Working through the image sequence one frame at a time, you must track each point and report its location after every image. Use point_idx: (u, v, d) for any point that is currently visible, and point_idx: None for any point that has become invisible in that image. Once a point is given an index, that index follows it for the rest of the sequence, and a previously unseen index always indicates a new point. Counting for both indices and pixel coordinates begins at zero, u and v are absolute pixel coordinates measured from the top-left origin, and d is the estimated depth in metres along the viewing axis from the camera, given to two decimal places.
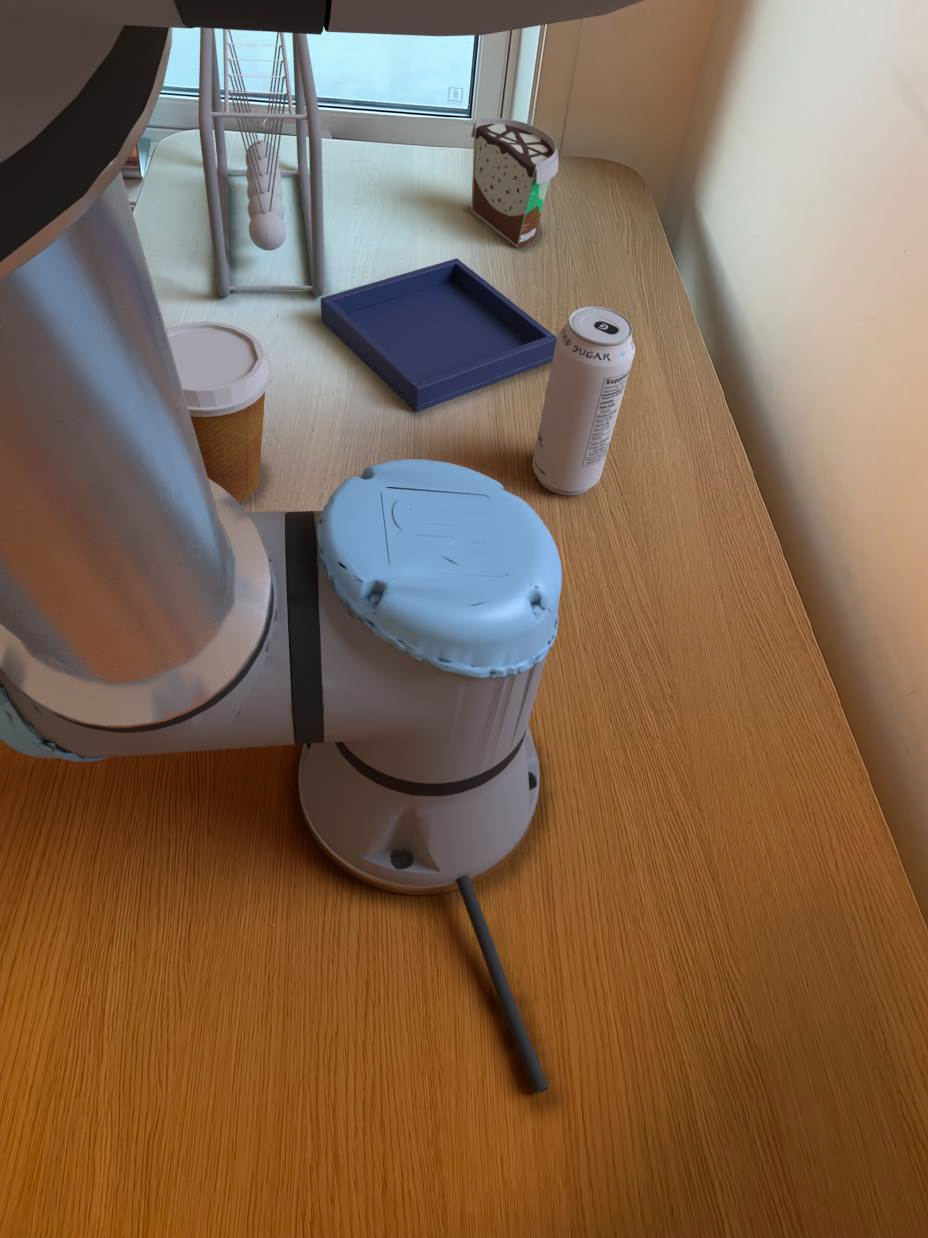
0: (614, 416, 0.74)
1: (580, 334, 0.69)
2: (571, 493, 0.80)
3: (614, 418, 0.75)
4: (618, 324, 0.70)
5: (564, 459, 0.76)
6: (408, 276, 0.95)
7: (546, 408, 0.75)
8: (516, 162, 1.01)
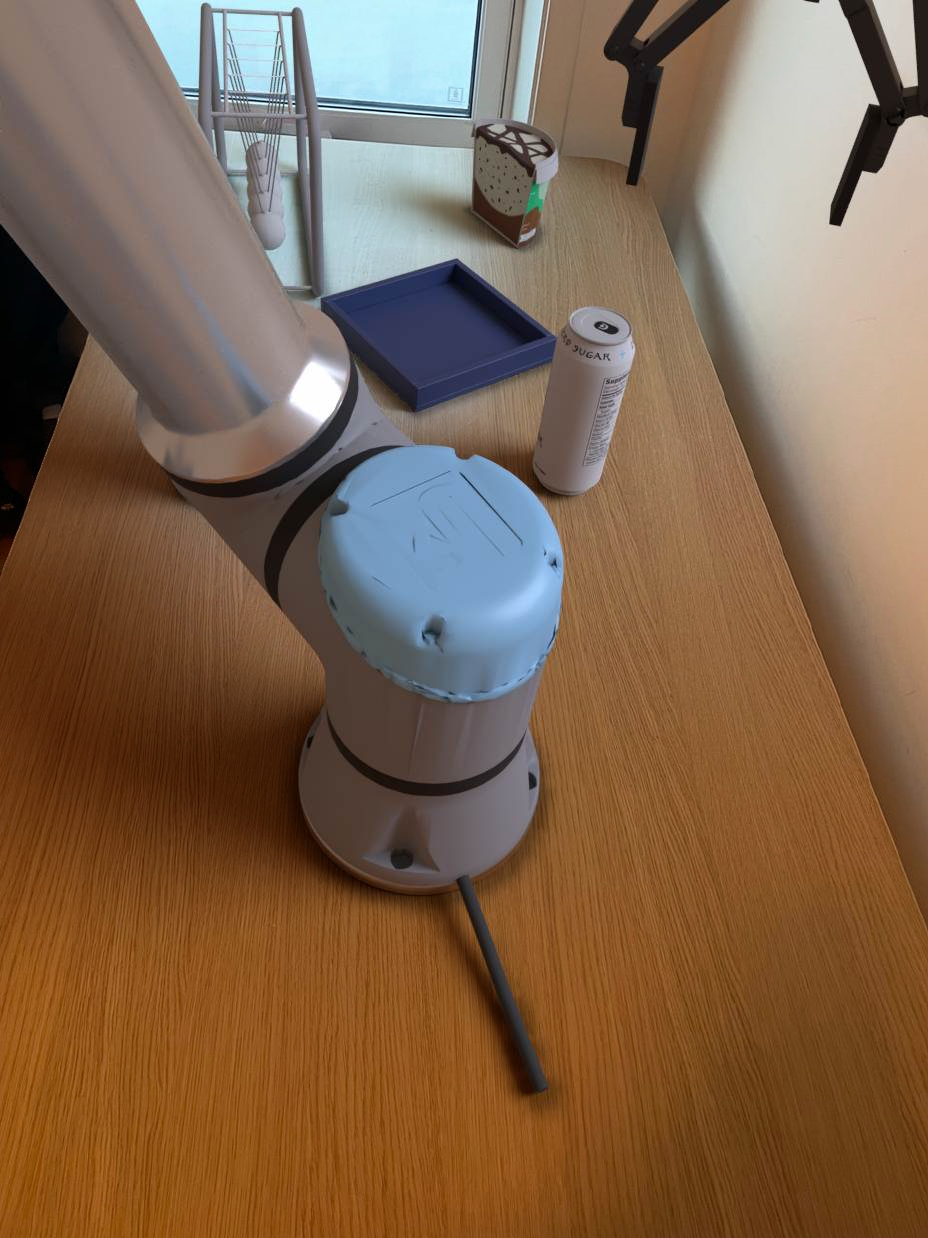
0: (614, 416, 0.74)
1: (580, 334, 0.69)
2: (571, 493, 0.80)
3: (614, 418, 0.75)
4: (618, 324, 0.70)
5: (564, 459, 0.76)
6: (408, 276, 0.95)
7: (546, 408, 0.75)
8: (516, 162, 1.01)
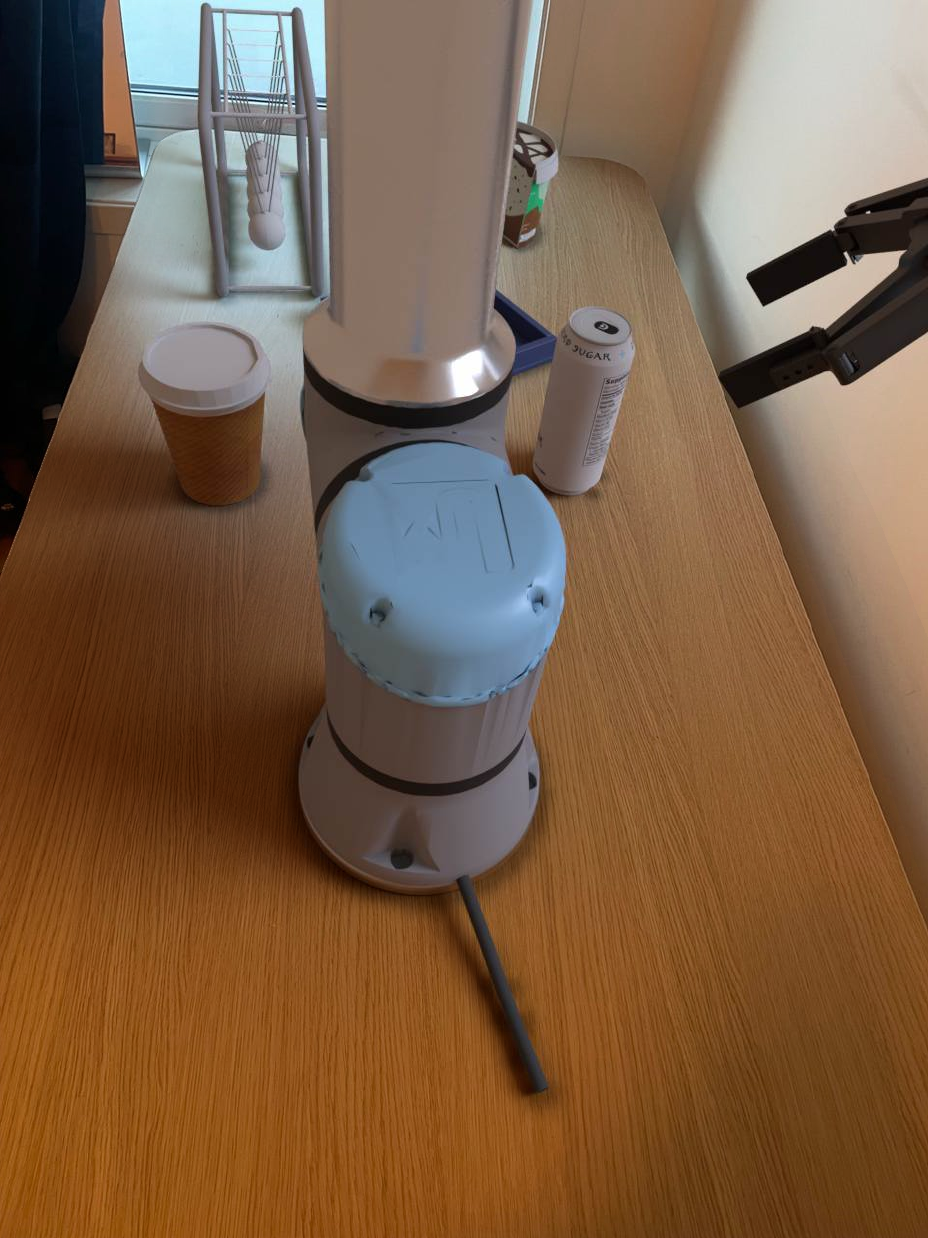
0: (614, 416, 0.74)
1: (580, 334, 0.69)
2: (571, 493, 0.80)
3: (614, 418, 0.75)
4: (618, 324, 0.70)
5: (564, 459, 0.76)
6: None
7: (546, 408, 0.75)
8: (516, 162, 1.01)
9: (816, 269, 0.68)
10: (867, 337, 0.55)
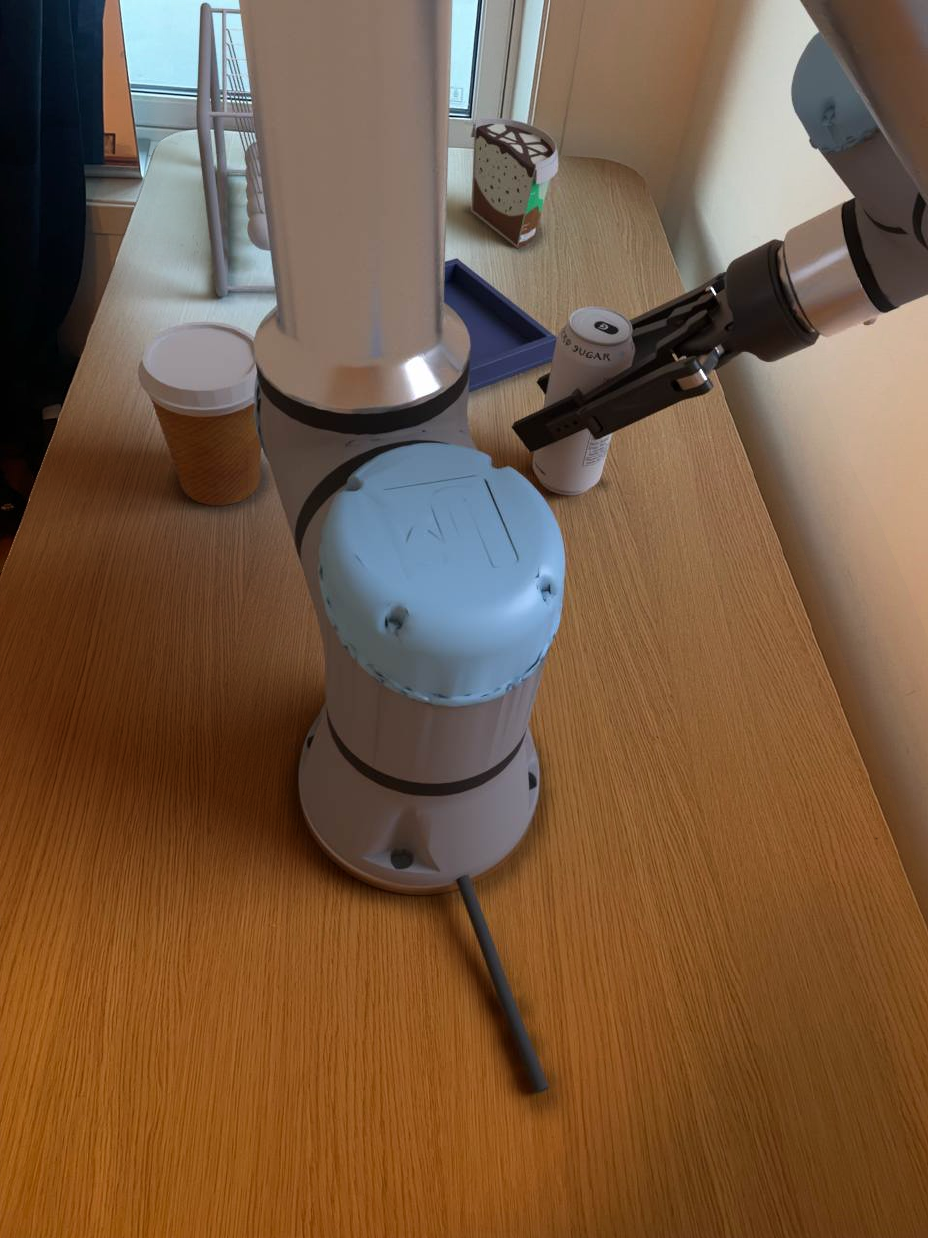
0: None
1: (580, 334, 0.69)
2: (571, 493, 0.80)
3: None
4: (618, 324, 0.70)
5: (564, 459, 0.76)
6: None
7: None
8: (516, 162, 1.01)
9: None
10: (606, 408, 0.67)
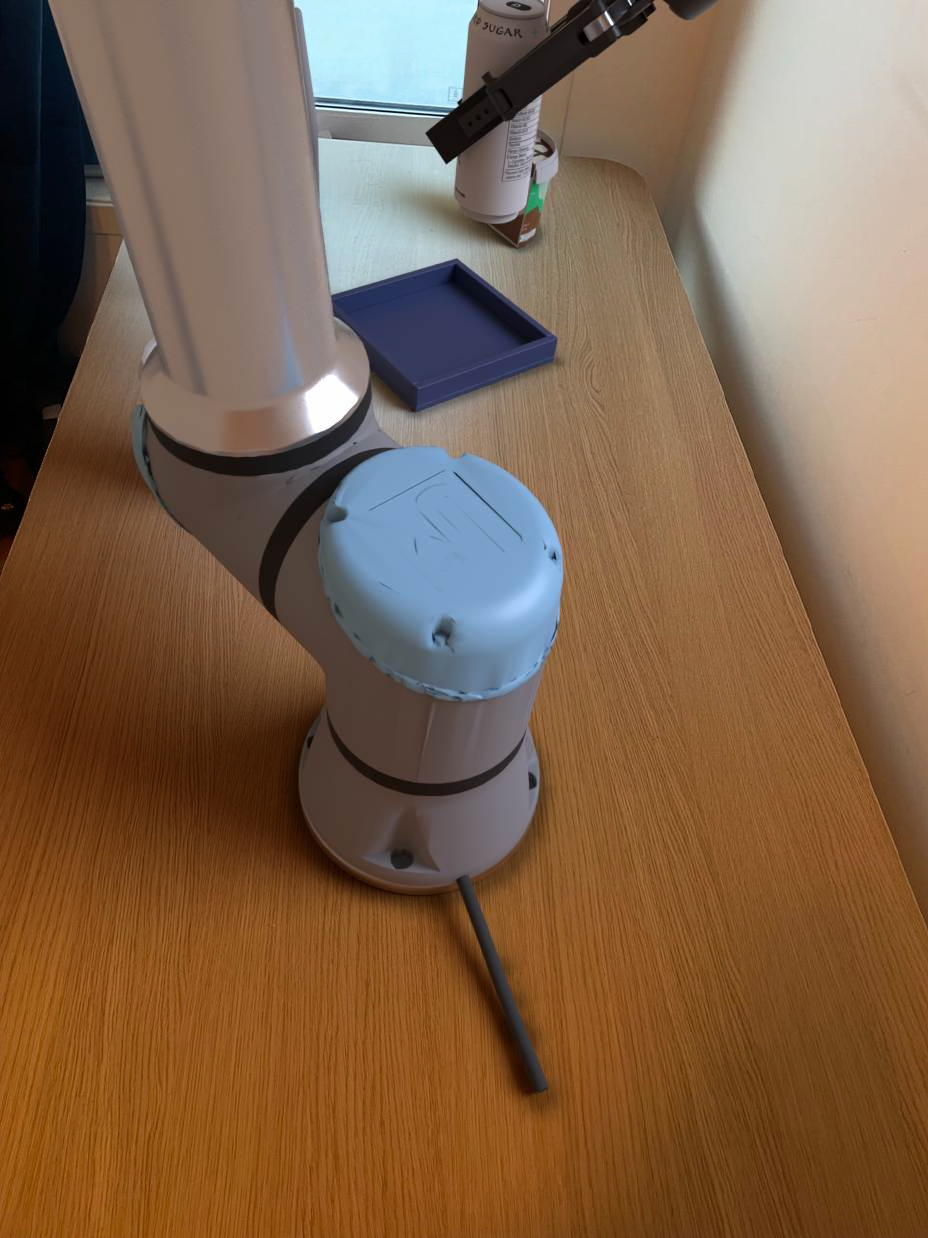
0: (532, 119, 0.71)
1: (489, 8, 0.65)
2: (493, 221, 0.76)
3: (533, 122, 0.71)
4: (532, 4, 0.67)
5: (482, 173, 0.73)
6: (408, 276, 0.95)
7: None
8: None
9: None
10: (514, 76, 0.64)
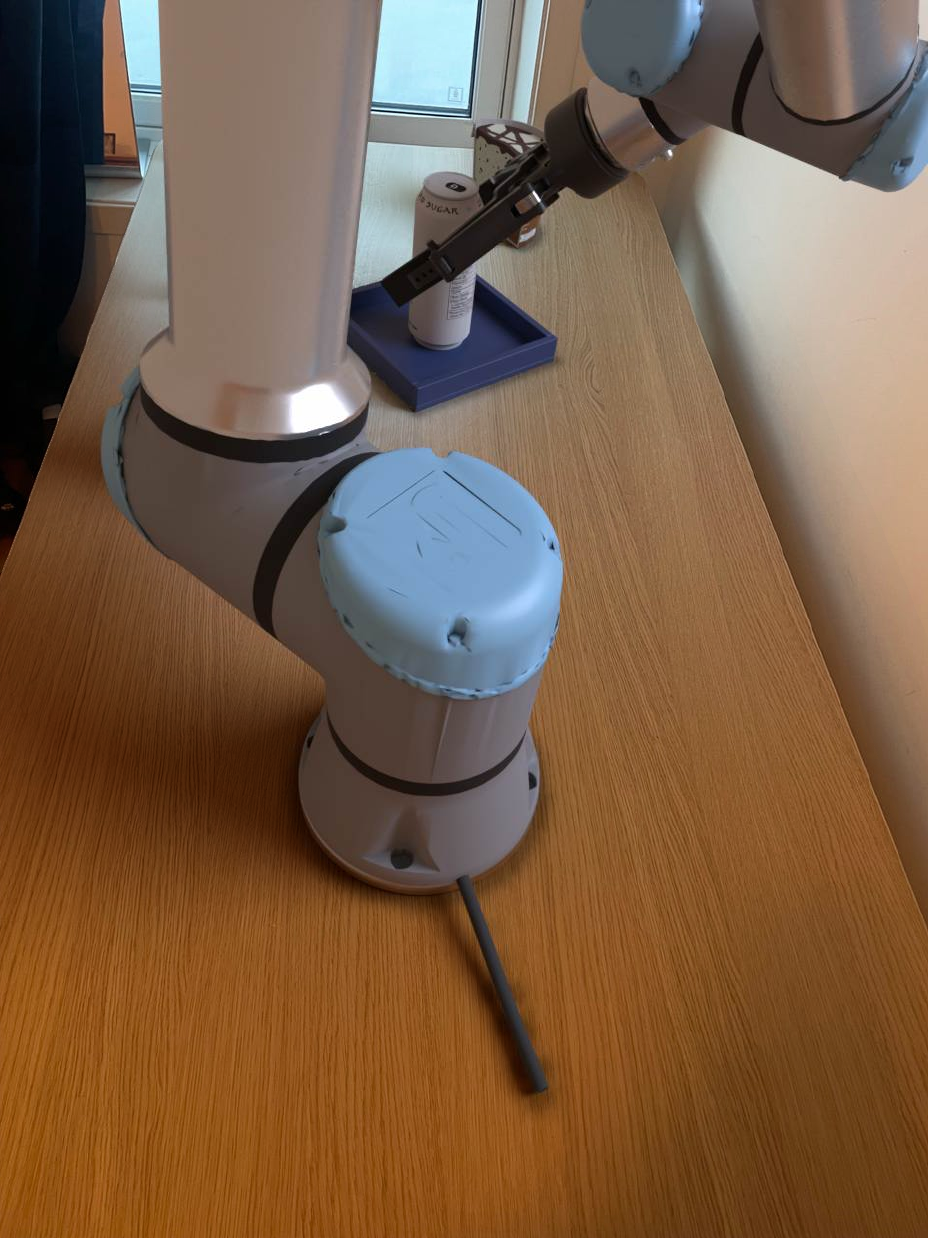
0: (470, 271, 0.85)
1: (431, 191, 0.80)
2: (441, 348, 0.91)
3: (471, 273, 0.85)
4: (467, 185, 0.81)
5: (430, 313, 0.87)
6: None
7: None
8: None
9: None
10: (456, 245, 0.74)
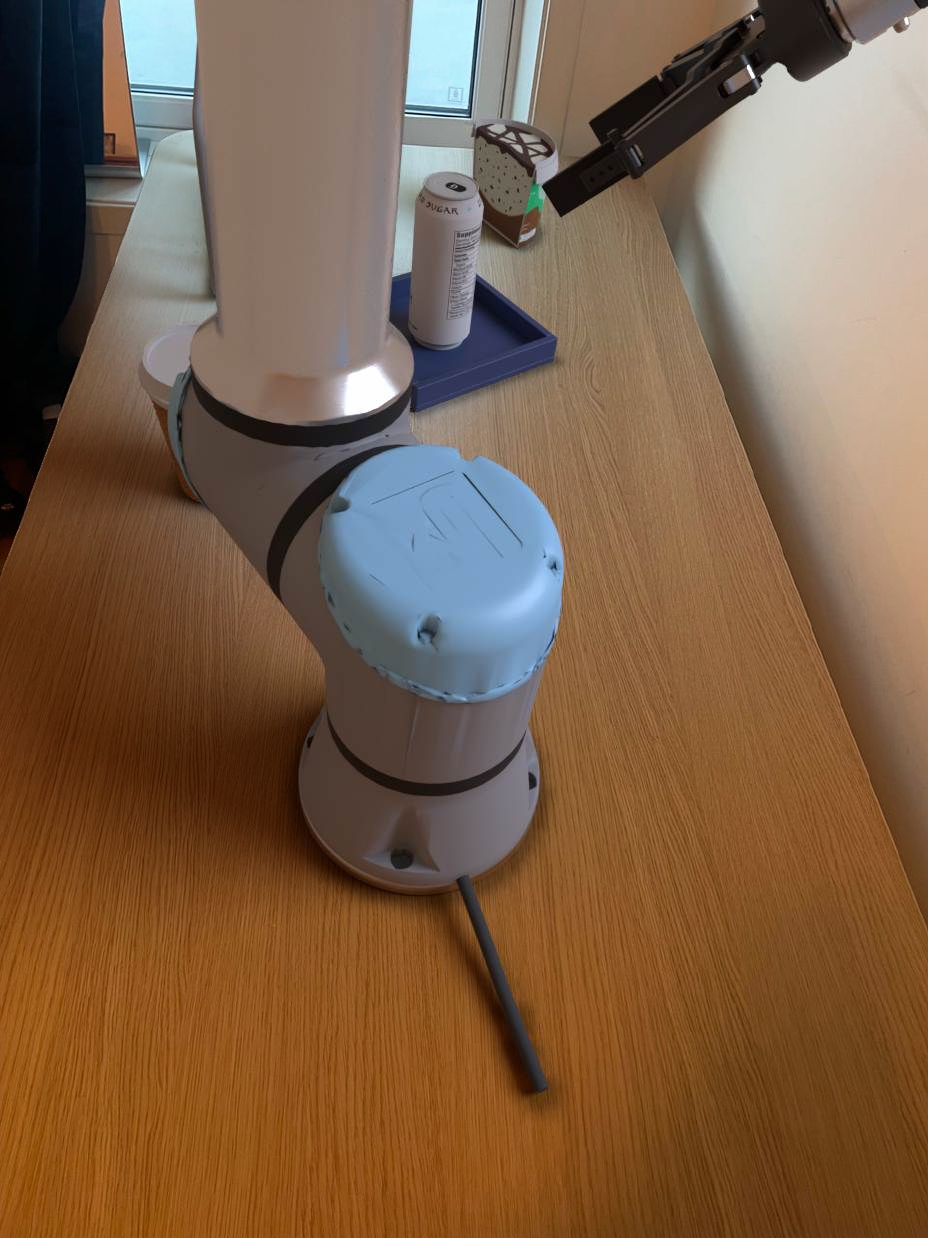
0: (470, 271, 0.85)
1: (431, 191, 0.80)
2: (441, 348, 0.91)
3: (471, 273, 0.85)
4: (467, 185, 0.81)
5: (430, 313, 0.87)
6: (408, 276, 0.95)
7: (412, 266, 0.86)
8: (516, 162, 1.01)
9: (646, 112, 0.77)
10: (649, 132, 0.64)
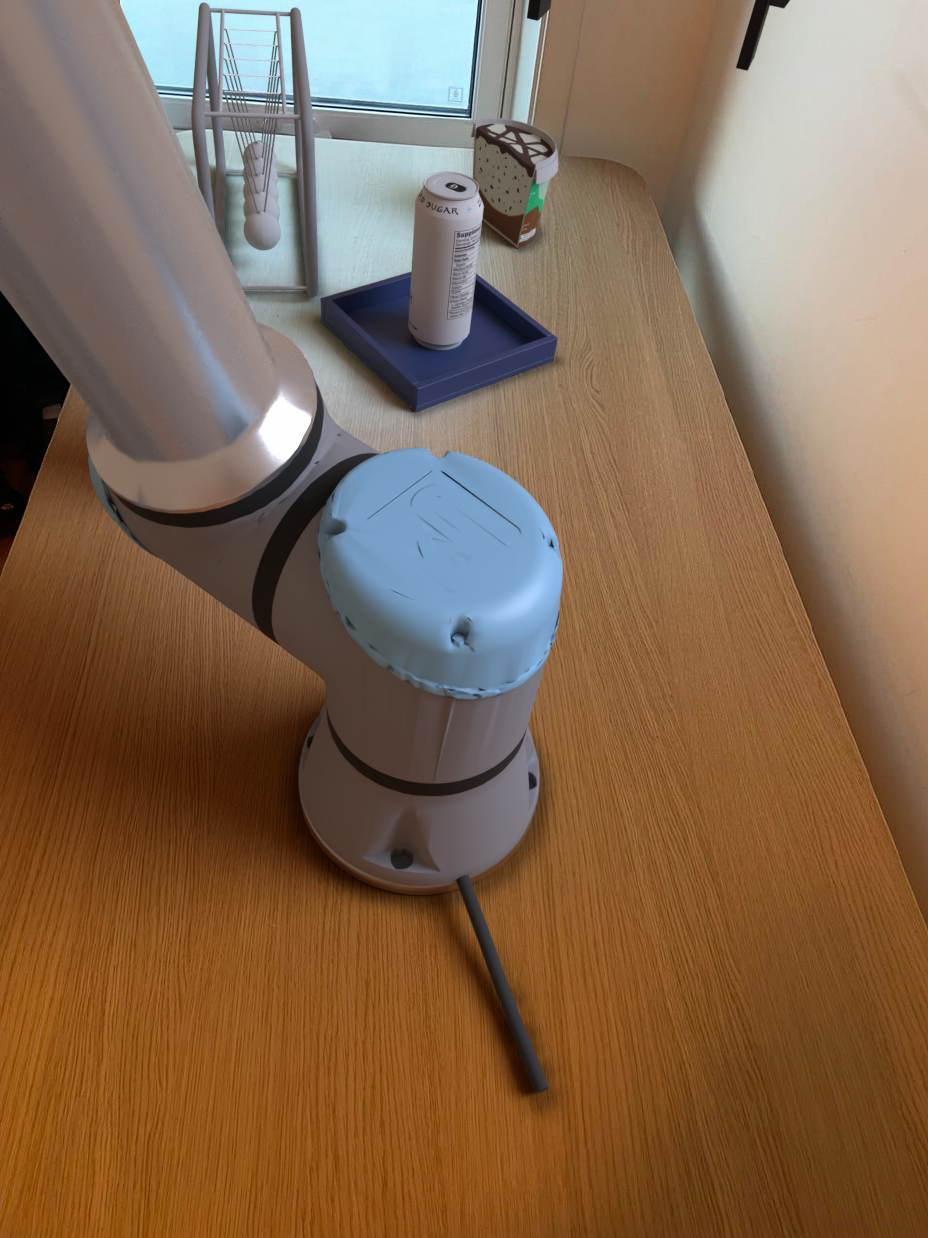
0: (470, 271, 0.85)
1: (431, 191, 0.80)
2: (441, 348, 0.91)
3: (471, 273, 0.85)
4: (467, 185, 0.81)
5: (430, 313, 0.87)
6: (408, 276, 0.95)
7: (412, 266, 0.86)
8: (516, 162, 1.01)
9: None
10: None
